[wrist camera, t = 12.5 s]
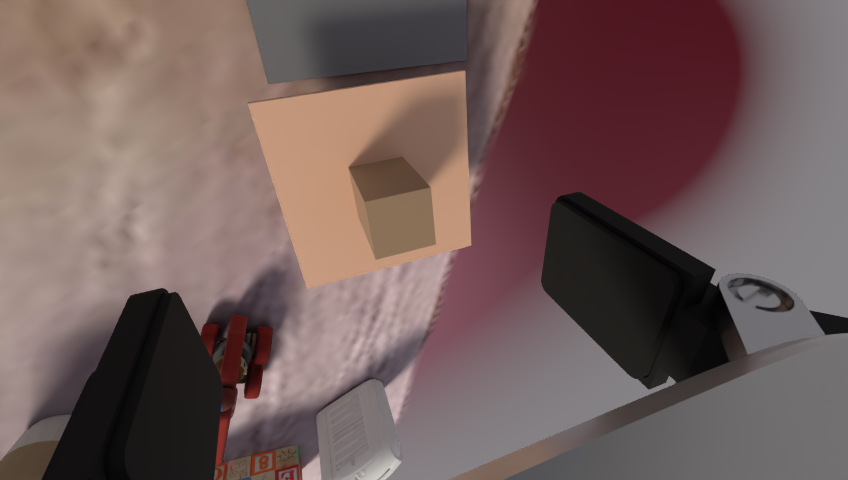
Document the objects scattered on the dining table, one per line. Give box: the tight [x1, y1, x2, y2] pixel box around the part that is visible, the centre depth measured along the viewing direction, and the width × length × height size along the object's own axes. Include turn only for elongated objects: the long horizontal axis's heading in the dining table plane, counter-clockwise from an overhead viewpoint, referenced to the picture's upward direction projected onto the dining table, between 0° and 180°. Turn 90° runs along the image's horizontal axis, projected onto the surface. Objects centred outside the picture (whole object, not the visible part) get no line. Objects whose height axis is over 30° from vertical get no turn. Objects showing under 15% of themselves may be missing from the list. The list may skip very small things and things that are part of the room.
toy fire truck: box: [201, 315, 273, 465], centre depth 39 cm, size 7×12×10 cm, turn 159°
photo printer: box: [316, 379, 403, 480], centre depth 49 cm, size 10×4×12 cm, turn 119°
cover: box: [248, 70, 471, 289], centre depth 29 cm, size 16×16×8 cm
